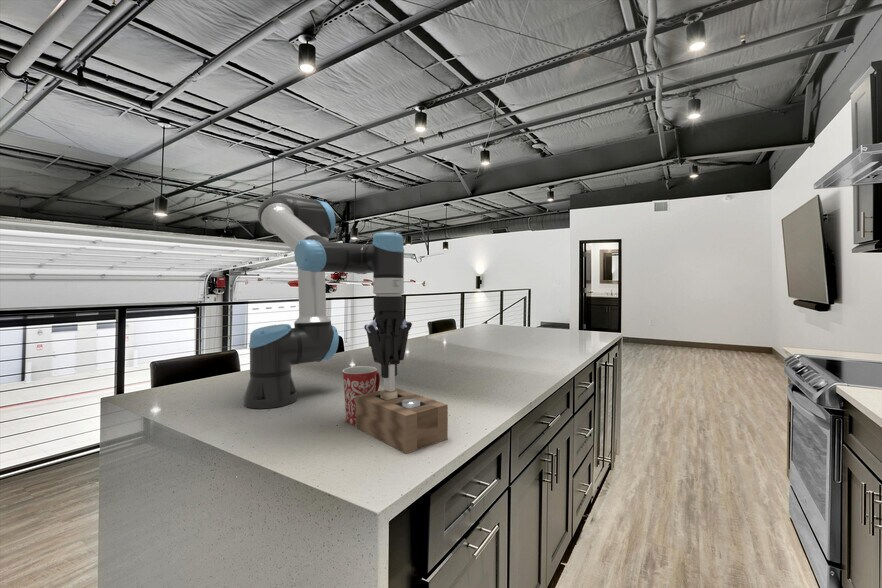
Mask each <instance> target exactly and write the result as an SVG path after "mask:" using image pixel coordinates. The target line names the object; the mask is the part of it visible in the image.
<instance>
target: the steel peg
mask: <svg viewBox="0 0 882 588" xmlns="http://www.w3.org/2000/svg"><path fill="white" fill-rule="evenodd" d="M402 406H403V407H406V408H409V409H410V408H414V407H417V406H420V400H418V399H405V400H403V401H402Z"/></svg>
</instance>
